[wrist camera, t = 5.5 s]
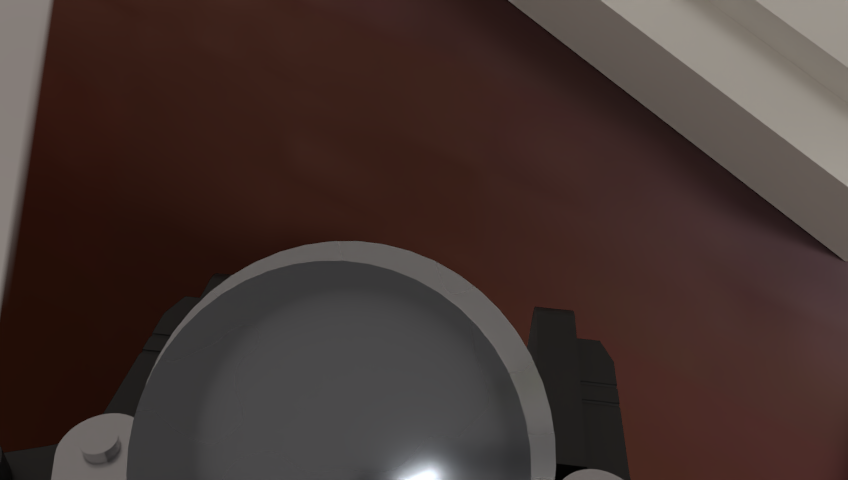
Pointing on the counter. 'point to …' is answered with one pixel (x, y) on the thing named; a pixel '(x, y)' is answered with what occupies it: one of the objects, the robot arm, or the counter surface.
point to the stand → (734, 87)
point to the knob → (343, 378)
